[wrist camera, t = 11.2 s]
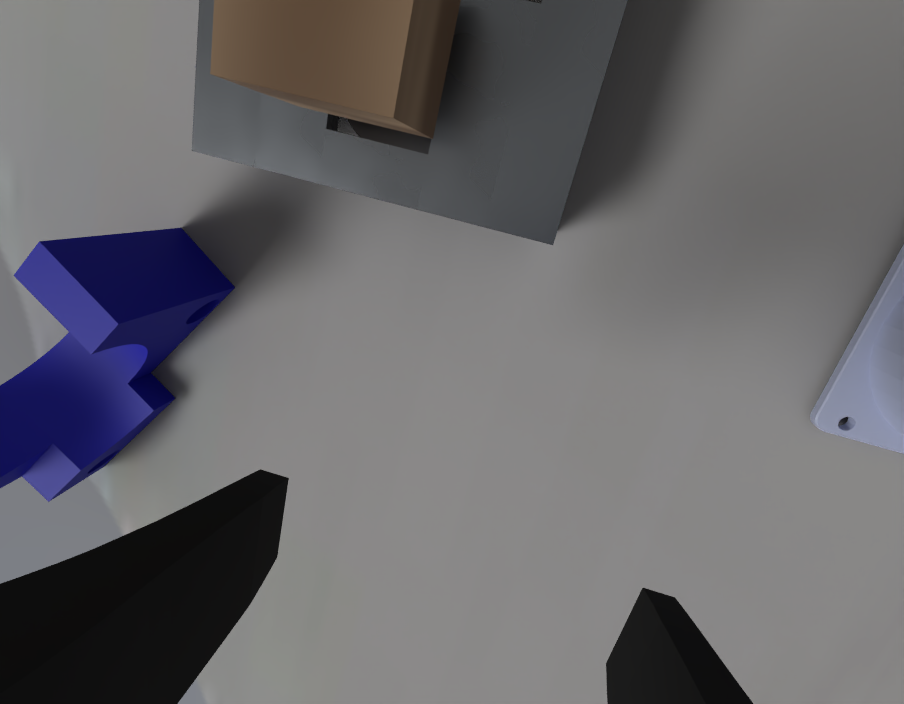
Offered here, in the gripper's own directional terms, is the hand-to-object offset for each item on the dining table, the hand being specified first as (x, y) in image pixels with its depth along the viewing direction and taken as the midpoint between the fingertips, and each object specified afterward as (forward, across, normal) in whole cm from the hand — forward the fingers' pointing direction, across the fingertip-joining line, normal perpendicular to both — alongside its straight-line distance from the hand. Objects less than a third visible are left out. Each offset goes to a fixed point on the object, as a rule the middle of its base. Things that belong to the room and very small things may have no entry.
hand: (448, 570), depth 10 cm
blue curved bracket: (+10, +15, +3) cm, 18 cm away
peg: (+10, +5, -10) cm, 15 cm away
